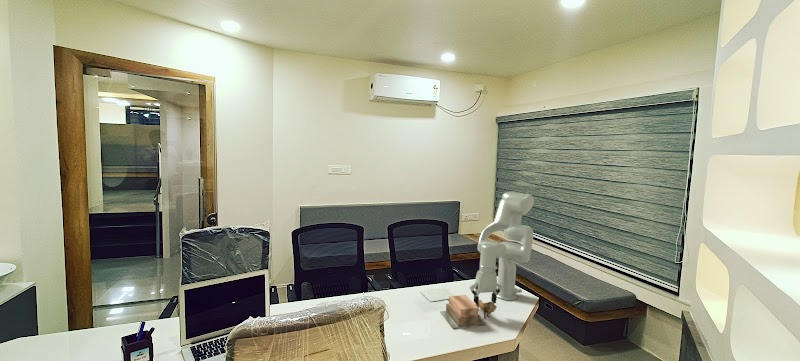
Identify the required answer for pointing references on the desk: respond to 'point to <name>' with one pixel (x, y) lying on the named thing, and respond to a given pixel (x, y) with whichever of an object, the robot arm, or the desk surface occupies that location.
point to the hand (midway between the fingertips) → (484, 302)
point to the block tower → (462, 313)
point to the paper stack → (437, 294)
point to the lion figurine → (486, 307)
